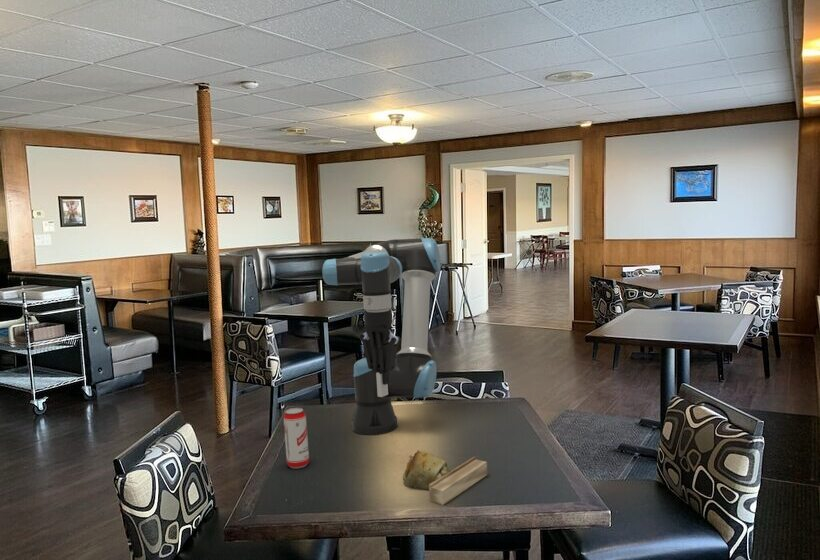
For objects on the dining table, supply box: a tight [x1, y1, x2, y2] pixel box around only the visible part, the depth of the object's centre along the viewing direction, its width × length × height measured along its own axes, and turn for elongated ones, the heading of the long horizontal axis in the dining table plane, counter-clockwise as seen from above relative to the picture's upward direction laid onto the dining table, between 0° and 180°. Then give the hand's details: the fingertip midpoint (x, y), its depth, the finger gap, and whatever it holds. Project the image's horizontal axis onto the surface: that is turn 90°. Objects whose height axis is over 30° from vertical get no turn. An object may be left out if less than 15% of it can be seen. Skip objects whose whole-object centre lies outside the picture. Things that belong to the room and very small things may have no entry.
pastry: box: [402, 450, 451, 491], centre depth 160 cm, size 14×12×8 cm
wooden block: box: [428, 456, 488, 506], centre depth 156 cm, size 4×20×4 cm, turn 142°
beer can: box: [283, 407, 310, 470], centre depth 175 cm, size 6×6×16 cm
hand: (382, 395), depth 169 cm, fingers closed
